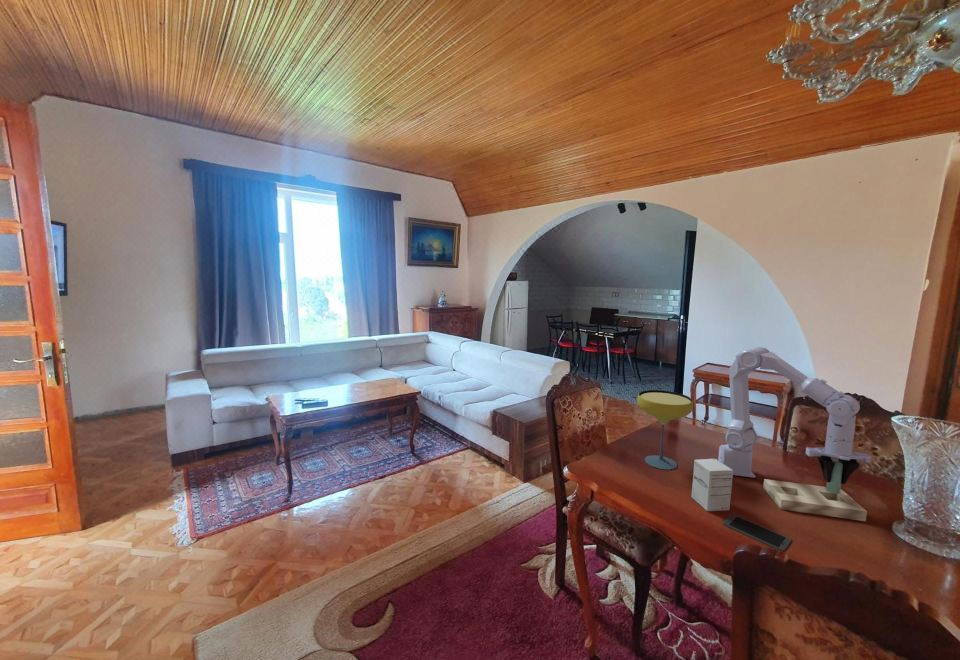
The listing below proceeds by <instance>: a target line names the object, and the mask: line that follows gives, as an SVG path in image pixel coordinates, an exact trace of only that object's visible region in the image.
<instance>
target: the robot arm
mask: <svg viewBox="0 0 960 660" xmlns="http://www.w3.org/2000/svg"><path fill="white" fill-rule="evenodd" d="M758 368H759V370H768V371H769V370H770V371H774V372H776V373H777V374H780V375H781V376H782V377H785V378H786V379H788V380H790V381H791V382H793V383H795V384H796V385H798V386H799V387H800V390H801V392H802V393H803V394H804V395H806V396H807V397H808V398H810V399H812V400H813V401H814V402H816V403H817V404H819V405H820V406H822V407H824V408H826V411H827V413H828V414H829V415H828V419H827V426H826V435H825V442H824V443H825V444H824V447H805V454H806V456H808V457H816V459H817V461H818V463H819V466H820V468H821V472H822V476H823V480H824V481H825V482H826V483H827V482H830V481H831V476H832V470H833V468H834V465H835V463H834V462H833V461H832V460H833V459H837V460H838V461H841V462H842V463H843V470H842V479H841V485H846V483H847V481H848V480H849V478H850V476H851V475H852V474H853V473H854V472H855V471H856V470H857V469H859V467H860V463H859V462H865V463H868V464H871V463H872V462H871V461H872V456H871V455H869V454H868V453H864V452H857V451H853V448H854V447H853V446H854V439H855V431H856V422H857V421H856V418H857V416H856V414H858V412H859V411H860V409H861V405H860V402H859V401H858V400H857V399H856V398H855V397H853V395H849V394H845V392H843V391H838V390H837V389H835V388H833V387H832V386H830V385H829V384H827V381H826V380H825V379H819V378H817V377H808V376H807V375H805V374H804V373H803V372H801V371H800V370H798V368H797V369H796V367H794V366H793V365H791V364H790V363H788V362H787V361H785V360H784V359H782V358H781V357H780V356H779V355H778V354H776V353H775V352H772V351H770V350H769V349H767V348H766V347H762V346H759V347H757V346H756V347H755V348H752V349H745V350H743V351H740V352H739V353H738V354H736V355H735V359H734V361H733V362H732V364H731V365H730V367H729V368H728V369H729V370H728V376H729V390H730V391H729V398H730V413H731V414H730V415H731V418H730V422H728V426H727V432H726V434H725V437H724V440H725V442H726V444H720V445H719V447H718V459H717V460H718V461H720V462H721V463H723V464H724V465H726V466H727V467H729V468H730V469H732V470H733V476H736V477H737V476H738V477H746V478H752V479H753V478H756V476H757V475H755V474H754V472H753V471H752V463H753V455H754V453H753V451H754V447H753V444H754V443H755V442H756V441H757V440H758V433H757V432H756V430H755V428H754V423H753V422H752V421H751V416H750V414H751V412H750V394H749V390H750V388H749V375H750V374H751V373H752V372H754V371H755V370H756V369H758ZM858 461H859V462H858Z"/></svg>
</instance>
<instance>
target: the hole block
mask: <svg viewBox="0 0 960 660" xmlns="http://www.w3.org/2000/svg"><path fill="white" fill-rule="evenodd" d="M762 488H763V489H764V490H765V492H766V493H767V494H768V496H769V497H770V498H771V499H772V501H774V504H776V505H777V507H778V508H779V509H780V510H785V511H791V512H798V513H805V514H812V515H813V514H814V515H819V516H827V517H833V518H841V519H846V520H854V521H860V522H866V521H867V515H868V510H866V509H865V508H864V507H863V506H861V505H860V504H859V503H858V502H857V501H856V500H854V499H853V498H852V497H851V496H850V495H849V494H848V493H846V492H845V491H844V490H843V489H841V488H840V493H839V494H836V493H832V492H829V491H827V490H826V486H821V485H816V484H815V485H814V484H806V483H797V482H792V481H791V482H789V481H782V480H775V479H768V478H767V479H766V478H764V479H763V487H762Z"/></svg>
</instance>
